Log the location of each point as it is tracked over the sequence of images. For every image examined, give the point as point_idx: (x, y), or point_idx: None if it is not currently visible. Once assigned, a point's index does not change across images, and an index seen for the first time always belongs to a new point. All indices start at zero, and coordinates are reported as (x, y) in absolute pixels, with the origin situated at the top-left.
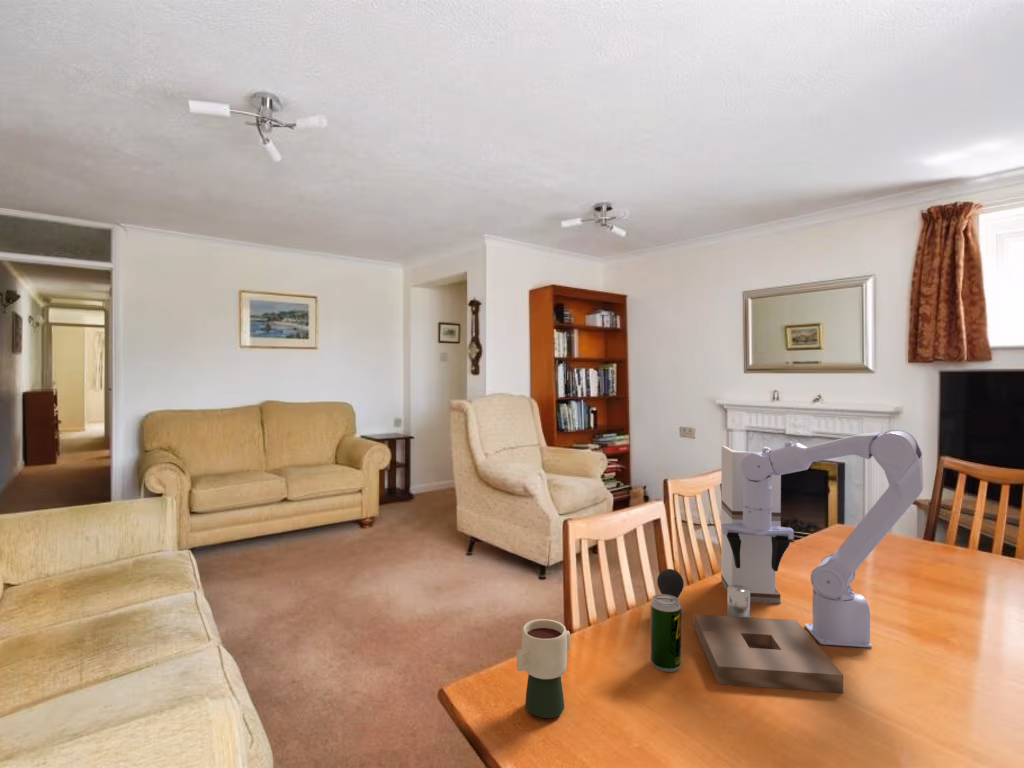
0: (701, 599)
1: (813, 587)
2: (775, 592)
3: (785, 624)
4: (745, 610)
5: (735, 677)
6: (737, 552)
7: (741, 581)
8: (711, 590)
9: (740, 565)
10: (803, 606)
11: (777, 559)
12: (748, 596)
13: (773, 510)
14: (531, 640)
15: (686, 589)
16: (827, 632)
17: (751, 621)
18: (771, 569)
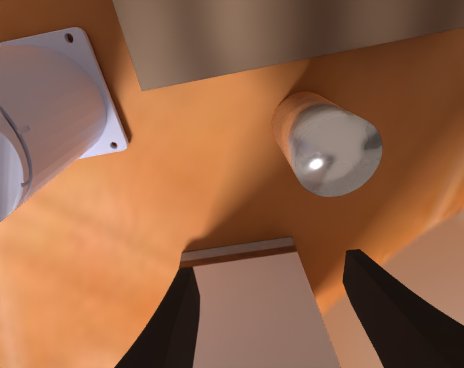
0: (365, 220)
1: (17, 164)
2: None
3: (178, 35)
4: (300, 107)
5: None
6: (421, 312)
7: (279, 278)
8: (327, 270)
9: (294, 321)
10: (131, 252)
11: (169, 314)
12: (303, 128)
13: None
14: None
15: (385, 259)
16: (48, 53)
17: (296, 22)
18: None
